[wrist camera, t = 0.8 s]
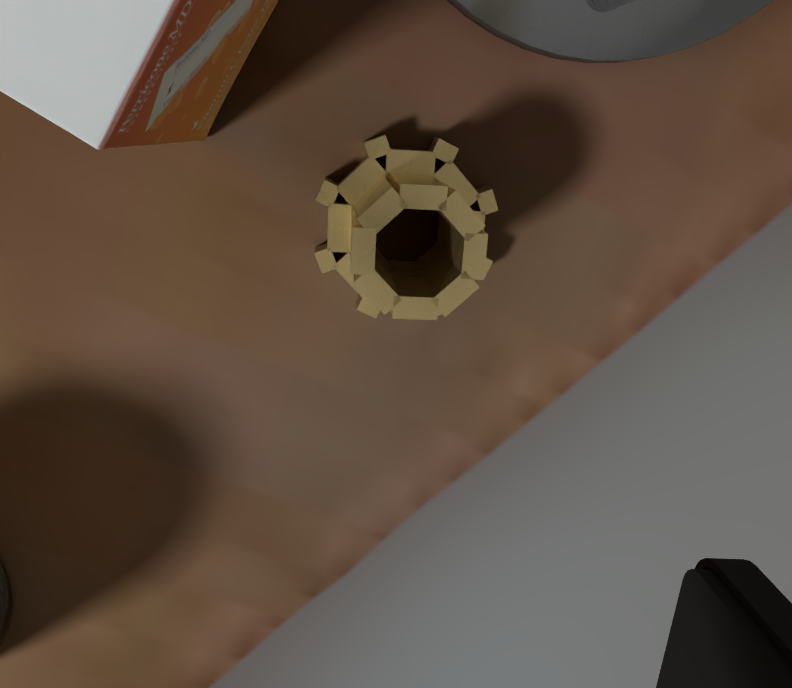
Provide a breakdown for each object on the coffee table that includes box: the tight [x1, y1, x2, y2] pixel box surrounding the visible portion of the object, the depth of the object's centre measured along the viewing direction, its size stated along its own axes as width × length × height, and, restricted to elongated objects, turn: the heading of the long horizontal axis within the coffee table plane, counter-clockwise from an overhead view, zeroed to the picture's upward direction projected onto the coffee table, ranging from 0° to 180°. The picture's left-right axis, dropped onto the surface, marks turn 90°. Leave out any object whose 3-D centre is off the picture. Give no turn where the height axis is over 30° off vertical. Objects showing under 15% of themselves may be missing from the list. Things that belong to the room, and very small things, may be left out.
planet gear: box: [314, 134, 498, 320], centre depth 26 cm, size 7×7×6 cm
